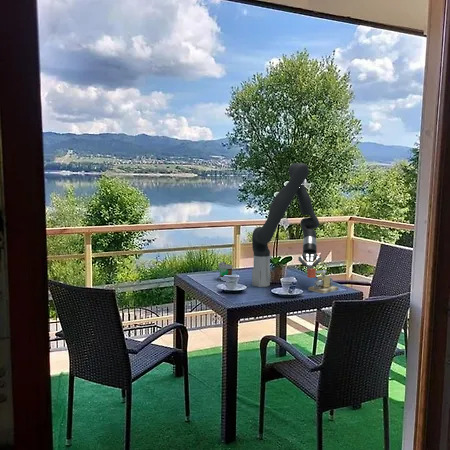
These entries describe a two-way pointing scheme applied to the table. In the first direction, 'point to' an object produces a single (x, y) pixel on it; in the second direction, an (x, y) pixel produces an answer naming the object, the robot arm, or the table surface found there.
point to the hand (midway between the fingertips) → (309, 272)
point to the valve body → (323, 282)
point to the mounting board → (324, 289)
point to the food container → (225, 269)
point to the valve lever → (312, 272)
